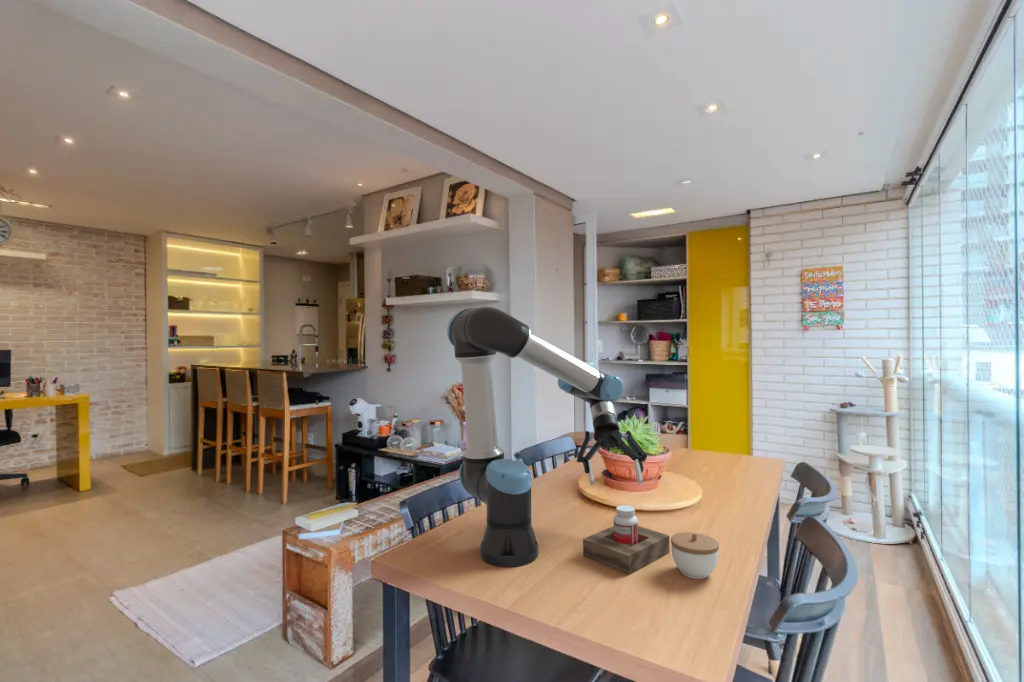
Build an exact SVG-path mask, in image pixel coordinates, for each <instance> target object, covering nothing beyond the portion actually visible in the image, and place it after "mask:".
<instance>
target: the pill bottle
mask: <svg viewBox="0 0 1024 682" xmlns="http://www.w3.org/2000/svg"><path fill="white" fill-rule="evenodd" d="M615 513H616V515H614V517H613V526H614V541H616V542H619V543H622V544H624V545H627V546H630V547H631V546H633V545H635V544H637V543H638V526H639V521H638V517H636V516H635V514H636V510H635V507H634V506H632V505H627V504H624V505H623V504H622V505H617V506H616V512H615Z"/></svg>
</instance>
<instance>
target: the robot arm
mask: <svg viewBox="0 0 1024 682" xmlns="http://www.w3.org/2000/svg"><path fill="white" fill-rule="evenodd" d="M446 332H447V338H448V341H449V343H450V344H451V345H452V346H453V349H454V350H453V351H454V359H455V360H456V361H458V362H459V363H460V366H461V369H460V370H461V376H462V377H461V380H462V393H463V402H464V404H463V405H464V416H465V417H464V418H465V429H466V439H467V448H466V449H465V450H464V451H463V453H462V458H463V460H462V461H463V462H462V463H461V464H460V467H459V469H458V472H459V473H458V476H459V477H458V478H459V482H460V485H461V486H462V488H463V489H464V490H465V492H466V493H467V494H469V495H470V496H472V497H473V498H475V499H478V500H479V501H481V502H482V503H483V504H485V505H486V526H485V529H484V534H483V538H482V540H481V543H480V546H479V551H480V552H479V553H480V554H479V555H480V558H481V560H483V561H484V562H485V563H488V564H491V565H494V566H497V567H519V566H524V565H527V564H530V563H532V562H534V561H535V560H536V559H538V556H539V543H538V541H537V539H536V538H537V537H536V534H535V531H534V528H533V525H532V485H533V480H532V475H531V473H532V472H531V469H530V467H529V466H528V465H527V464H525V462H522V461H519V460H517V459H515V460H513V459H511V458H505V452H504V451H505V450H504V448H503V447H501V446H500V445H499V443H498V440H499V439H498V429H497V417H496V415H497V414H496V405H495V404H496V403H495V402H496V401H495V390H494V379H493V377H494V376H493V366H492V365H493V364H492V361H493V360H494V358H495V357H496V356H497V353H500V354H503V355H505V356H507V357H509V358H510V359H514V358H519V359H521V360H523V361H525V362H526V363H529V364H531V366H532V365H533V366H534V367H537V368H538V369H540V370H541V371H544V372H546V373H548V374H549V375H551V376H554V377H555V378H557V386H558V388H559V389H560V390H562V391H563V392H565V394H570V395H572V396H574V397H577V398H578V399H581V400H582V401H584V402H587V403H589V408H590V409H589V410H590V413H591V420H592V426H593V432H594V433H592V432H590V431H588V430H586V431H585V433H584V439H583V442H582V445H581V447H580V448H579V452H578V453H577V456H576V462H577V463H582V465H583V468H584V473H585V474H588V479H589V485H590V486H594V483H595V477H594V471H593V470H594V468H593V464H592V458H593V457H594V455H596V453H597V452H598V451H599V450H600V448H604V449H607V448H612V449H614V448H617V450H620V451H621V452H622V453H624V454H625V455H626V456H627V457H629V458H630V459H631V460H632V461H634V462H633V466H634V470H635V476H636V480H637V484H638V485H639V486H641V485H642V483H643V481H644V478H643V474H642V473H643V472H644V469H645V468H644V464H643V463H645V462H646V460H647V458H648V454H647V453H646V452H645V451H644V449H643V448H642V446H641V445H640V444H639V443H638V442H637V441H636V440H635V438H634V437H633V435H632V432H631V431H630V430H627V431H626V432H623V433H622V432H621V430H620V427H619V422H618V421H619V420H618V418H617V417H618V416H617V414H616V413H617V412H616V408H615V403H614V402H617V401H618V400H619V399H621V397H622V395H623V394H624V393H623V392H624V382H623V381H622V379H621V378H620V377H619V376H616V375H614V374H607V373H605V372H603V371H601V370H599V369H597V368H595V367H594V366H592V365H591V364H589V363H586V362H584V361H583V360H581V359H579V358H578V357H576V356H574V355H572V354H570V353H569V352H567V351H566V350H563V349H562V348H560V347H559V346H557V345H554V344H553V343H551V342H549V341H547V340H546V339H544V338H543V337H541V336H539V335H537V334H535V333H533V331H532V330H531V327H530V326H529V325H527V324H526V323H524V322H522V321H520V320H519V319H517V318H515V317H513V315H511V314H508V313H507V312H505V311H503V310H500V309H498V308H497V307H496V308H495V307H491V306H482V307H481V306H480V307H475V308H474V307H473V308H471V307H469V308H464V309H463V310H460V311H458V312H456V313H455V314H454V315H453V316H452V317H451V318H450V320H449V321H448V324H447V328H446ZM592 439H594V441H595V443H594V444H593V446H592V447H591V448H590V450H588V452H587V453H586V450H587V448H588V445H589V442H590V441H592ZM625 441H626V442H625ZM626 443H627V444H626ZM585 453H586V455H585V456H584V454H585Z"/></svg>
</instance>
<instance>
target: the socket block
mask: <svg viewBox="0 0 1024 682" xmlns="http://www.w3.org/2000/svg"><path fill="white" fill-rule="evenodd" d="M670 543H671V538H670V535H669V534H666V533H663V532H660V531H656V530H653V529H650V528H646V527H644V526H642V525H641V526H640V525H638V543H637V544H635V545H633V546H631V547H630V546H627V545H624V544H622V543H619V542H616V541H614V525H612V526H610V527H609V528H606V529H603V530H601V531H599V532H596V533H593V534H592V535H589V536H586V537H584V538H582V547H583V548H582V554H583V555H582V556H583V557H584V558H586V559H590V560H591V561H594V562H596V563H599V564H601V565H604V566H606V567H609V568H611V569H613V570H616V571H619V572H621V573H623V574H625V575H628V576H630V575H632V574H634V573H636V572H637V571H639V570H640V569H643V568H644V567H646V566H648V565H650V564H652V563H653V562H656V561H657V560H660V559H661V558H663V557H665V556H666V555H668V554H670V550H671V549H670V546H671V544H670Z"/></svg>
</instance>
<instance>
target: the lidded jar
mask: <svg viewBox="0 0 1024 682" xmlns="http://www.w3.org/2000/svg"><path fill="white" fill-rule="evenodd" d="M670 543H671V544H670V545H671V555H672V559H673V562H674V564H675V566H676V567H677V569H678V570H679V571H680V572H681V574H682V575H683V576H685V577H687V578H690V579H694V580H695V579H696V580H703V579H707V578H708V577H709V575H711V574H712V572H714V571H715V569H716V566H717V564H718V559H719V548H720V544H719V542H718V540H716V538H714V537H712V536H709V535H707V534H703V533H699V532H691V531H690V532H689V531H688V532H687V531H686V532H679V533H674V534H673V535H672V536H671V537H670Z"/></svg>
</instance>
